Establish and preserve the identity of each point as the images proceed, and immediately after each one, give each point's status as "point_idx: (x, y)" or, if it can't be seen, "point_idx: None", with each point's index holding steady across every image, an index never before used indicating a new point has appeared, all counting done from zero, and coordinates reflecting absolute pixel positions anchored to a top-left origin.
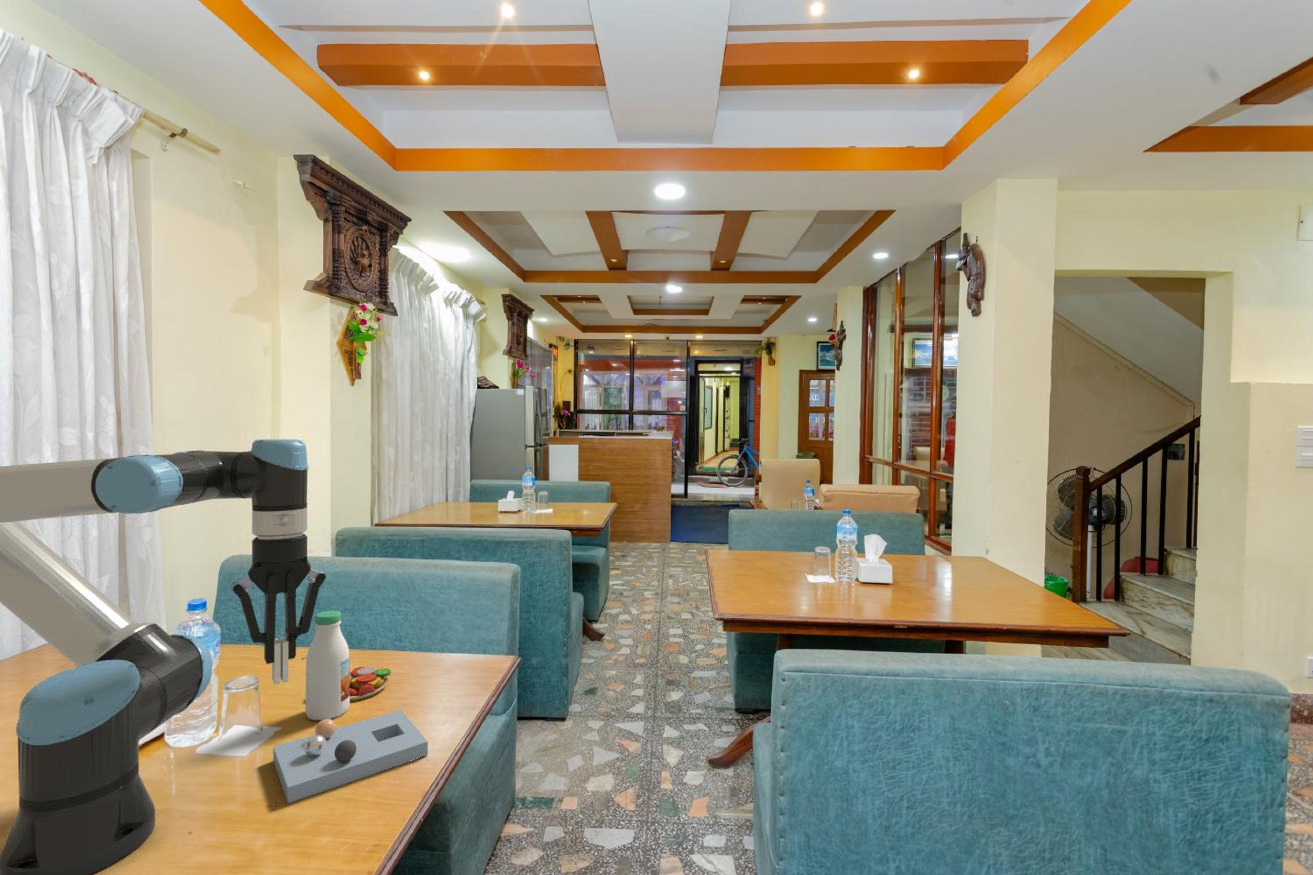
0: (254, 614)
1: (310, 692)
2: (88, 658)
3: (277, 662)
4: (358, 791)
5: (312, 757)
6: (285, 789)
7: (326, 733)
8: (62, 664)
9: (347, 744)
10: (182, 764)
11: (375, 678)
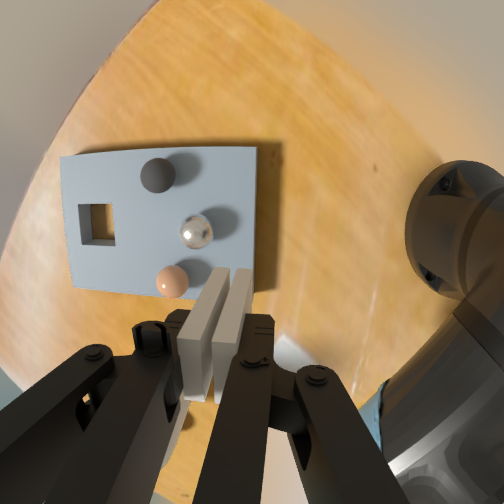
0: (346, 500)
1: (180, 400)
2: None
3: (235, 300)
4: (168, 115)
5: None
6: (256, 170)
7: (173, 265)
8: None
9: (151, 167)
10: (351, 358)
11: None
